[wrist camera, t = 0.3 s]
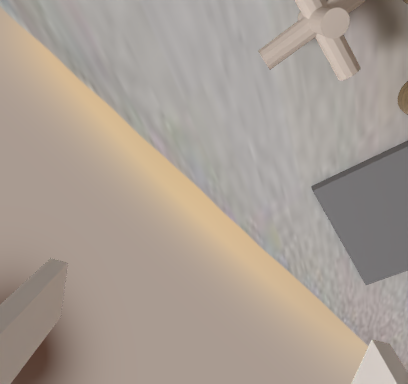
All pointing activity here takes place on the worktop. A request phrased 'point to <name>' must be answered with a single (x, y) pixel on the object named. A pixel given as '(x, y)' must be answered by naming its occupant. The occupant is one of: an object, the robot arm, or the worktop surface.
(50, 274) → the robot arm
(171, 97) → the worktop surface
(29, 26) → the worktop surface
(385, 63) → the worktop surface
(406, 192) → the rubber mat
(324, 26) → the pipe connector
